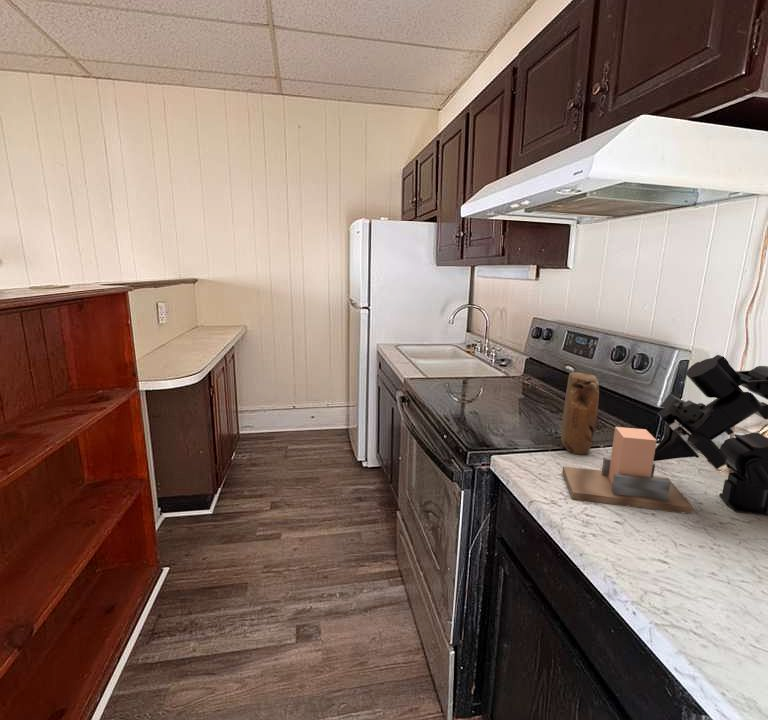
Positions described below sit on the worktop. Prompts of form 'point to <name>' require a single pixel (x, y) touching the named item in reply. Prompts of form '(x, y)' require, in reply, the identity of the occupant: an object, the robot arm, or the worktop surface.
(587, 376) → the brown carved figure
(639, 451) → the block
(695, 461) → the worktop surface
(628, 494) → the chute
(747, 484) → the robot arm
